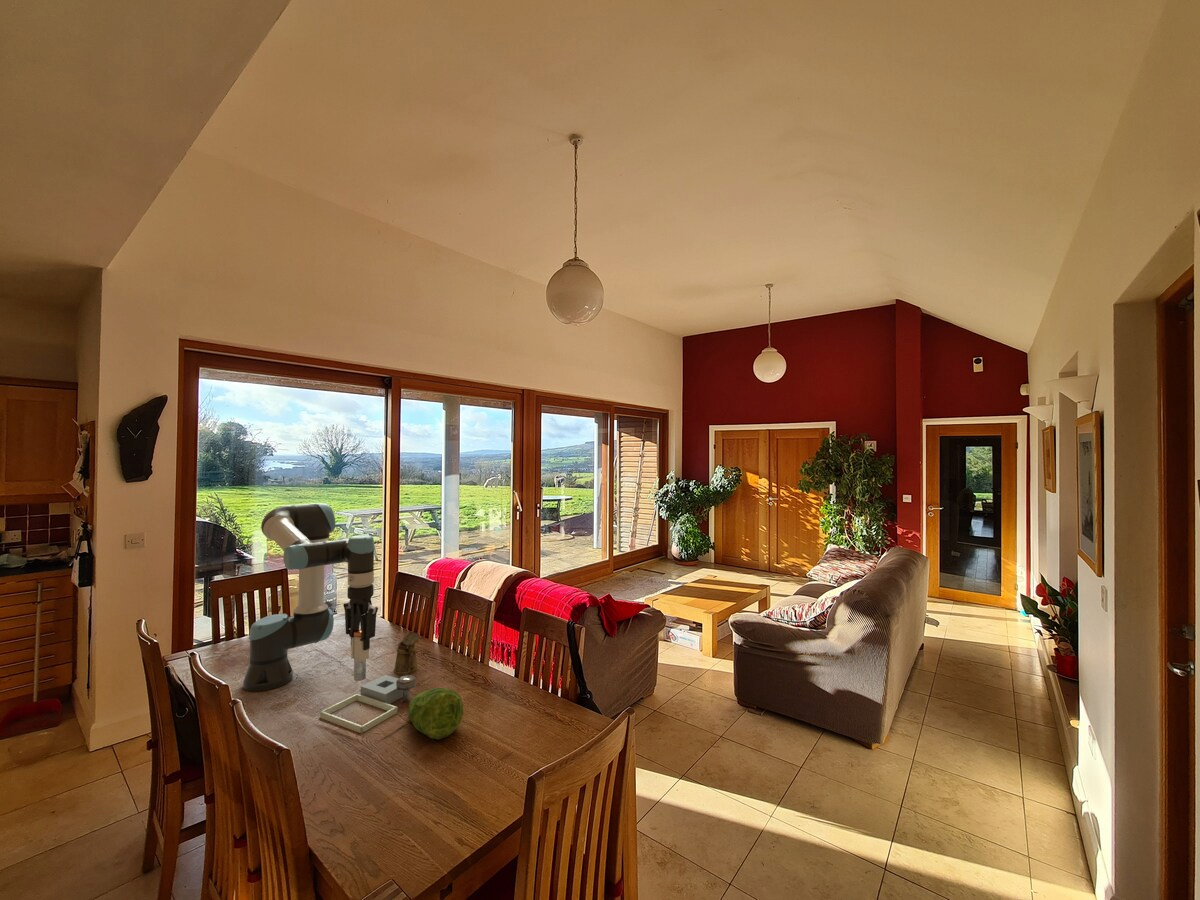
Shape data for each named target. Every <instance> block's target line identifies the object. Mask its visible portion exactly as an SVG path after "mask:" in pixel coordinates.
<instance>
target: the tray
mask: <svg viewBox="0 0 1200 900" xmlns="http://www.w3.org/2000/svg"><path fill="white" fill-rule="evenodd" d="M355 701H358V702H360V703H364V704H366V705H370V706H372V707H375V708H378V709H381V710H385V711H386V712H384V713H382V714H381V715H378V716H377V717H375V718H374V719H371V720H369V721H367V722H366V723H365V724H358V723H355V722H353V721H350V720H347V719H344V718H343V717H339V716H337V715H334V714H332V713H335V712H336V711H339V710H340V709H342V708H344V707H346V706H349V705H351V704H353V703H354V702H355ZM319 714H320V715H319V717H320V719H323V720H320V719H319V720H320V722H322V723H325V724H328V725H330V726H333V727H336V728H338V729H341V730H344V731H345V732H349V733H352V734H353V735H356V736H360V737H361V738H362V737H363V736H362V735H360V734H363V733H364V732H366V731H368V730H370V729H372V728H373V727H375V726H377V725H378V724H381V723H382V722H384V721H385V720H387V719H389V718H391V717H392V716H394V715H396V714H398V706H396V705H393V704H387V703H384V702H381V701H378V700H375V699H372V698H369V697H366V696H363V695H361V693H356V694H354V695H352V696H350V697H347V698H345V699H343V700H342V701H341V700H340V701H339V702H337V703H335V704H333V705H331V706H329V707H327V708H325V709H323V710H321V711H320V712H319ZM324 720H325V721H324ZM326 721H328V722H331V723H333V724H331V723H328V722H326ZM334 724H335V725H334ZM337 725H339V726H341V727H344V728H346V729H344V728H341V727H338V726H337ZM347 729H348V730H347ZM349 730H352V731H354V732H352V731H349ZM355 732H356V733H355ZM357 733H359V734H357Z"/></svg>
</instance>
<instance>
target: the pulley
mask: <svg viewBox="0 0 1200 900" xmlns="http://www.w3.org/2000/svg"><path fill="white" fill-rule="evenodd" d="M417 680H418V678H417V677H416V676H414V675H411V674H405V675H402V676H400V677H399V678H398V680H397V681H396V688H397V689H399V690H403V697H402V698H403V699H402V701H403V703H407V702H409V701H410V697H411V695H410V694H411V693H410V692H411V690H412V689H413V688H415V687H416V686H417V682H418V681H417Z"/></svg>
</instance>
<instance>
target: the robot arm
mask: <svg viewBox="0 0 1200 900" xmlns="http://www.w3.org/2000/svg"><path fill="white" fill-rule="evenodd" d="M335 516H336V515H335V513H334V511H333V508H332V507H331V505H329V504H328V503H326V502H325V503H320V502H319V503H318V502H315V503H314V502H312V503H302V504H301V503H300V504H292V505H291V504H288V505H287V504H285V505H281V506H277V507H276V508H274V509H272V510H270V511H269V512H267V513H266V515H265V516H264V518H263V519H262V521H261V528H260V529H261V532H262V534H263V535H264V536H265V537H266V538H267V539H269V540H270V541H273V542H274V543H276V545H277V546H278V547H279V548H280V549H281V550H282V551H283V563H284V567H285V569H287V571H292V570H298V593H297V594H298V596H297V597H298V598H297V599H298V601H297V603H298V604H297V606H296V607H295V608H294V609H293V615H292V616H289V615H288V614H287V613H278V614H277V613H274V614H271V615H267V616H264V617H262V618H260V619H258V620H256V621H254V622H253V624H251V626H250V629H249V637H248V638H249V665H248V667H247V669H246V670H247V671H246V673H245V675H244V679H243V681H242V686H243V687H242V689H243V690H245V691H247V692H265V691H269V690H273V689H278V688H279V687H282V686H284V685H287V683H289V682H291V681H292V680H293V674H294V670H293V667H292V666H291V663H290V659H289V657H288V650H291V649H295V648H299V647H303V646H307V645H308V646H309V645H311V644H318V643H319V642H323V641H325V640H328V639H329V637H330V636H331V634H332V632H333V629H334V622H335V619H334V612H333V610H332V609H330V608H329V606H328V604H327V603H325V566H329V565H335V564H336V565H337V564H342V563H343V564H344V563H347V585H348V586H347V597H346V598H347V599H349V601H347V602H345V603H343V609H344V619H345V621H344V623H345V624H344V625H345V634H346V635H349V638H350V651H351V654H350V655H351V656H350V657H351V659H352V660H354V631H356V630H360V629H361V634H362V639H360V661H363V660H366V661H367V660H368V659H370V655H369V654H370V648H371V646H370V645H371V643H370V642H371V639H373V638H374V637H375V636H376V626H377V624H376V623H377V613H378V610H379V608H378V606H373V603H372V599H371V598H373V596H374V592H375V591H374V584H373V583H374V582H375V574H374V573H375V572H374V570H375V569H374V568H375V539H374V537H373V536H372V535H366V534H362V535H361V534H360V535H353V536H349V537H340V538H338V539H336V540H330V541H328V539H329V538H330V533H333V532H334V531H335V528H336V517H335Z"/></svg>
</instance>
